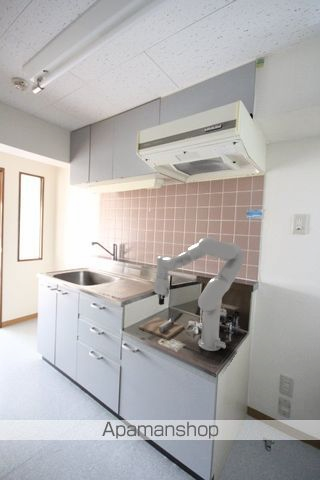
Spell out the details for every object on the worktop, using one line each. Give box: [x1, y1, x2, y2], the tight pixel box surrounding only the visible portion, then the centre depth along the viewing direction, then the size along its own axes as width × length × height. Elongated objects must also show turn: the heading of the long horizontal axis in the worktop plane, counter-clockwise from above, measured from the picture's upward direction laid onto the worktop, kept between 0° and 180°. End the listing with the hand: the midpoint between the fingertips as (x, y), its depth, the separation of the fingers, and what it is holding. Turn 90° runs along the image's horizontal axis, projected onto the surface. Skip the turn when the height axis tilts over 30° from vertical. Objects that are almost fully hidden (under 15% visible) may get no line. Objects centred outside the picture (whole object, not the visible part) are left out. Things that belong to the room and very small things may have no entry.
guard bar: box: [159, 317, 175, 330], centre depth 143 cm, size 15×3×3 cm, turn 146°
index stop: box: [160, 325, 168, 333], centre depth 137 cm, size 2×5×4 cm, turn 145°
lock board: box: [138, 316, 185, 340], centre depth 144 cm, size 22×20×2 cm
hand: (161, 304), depth 141 cm, fingers closed
